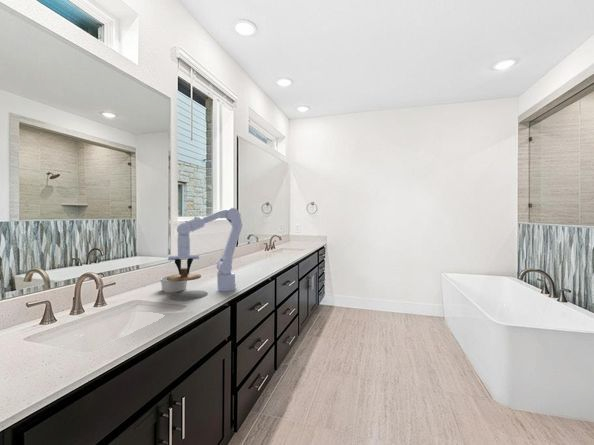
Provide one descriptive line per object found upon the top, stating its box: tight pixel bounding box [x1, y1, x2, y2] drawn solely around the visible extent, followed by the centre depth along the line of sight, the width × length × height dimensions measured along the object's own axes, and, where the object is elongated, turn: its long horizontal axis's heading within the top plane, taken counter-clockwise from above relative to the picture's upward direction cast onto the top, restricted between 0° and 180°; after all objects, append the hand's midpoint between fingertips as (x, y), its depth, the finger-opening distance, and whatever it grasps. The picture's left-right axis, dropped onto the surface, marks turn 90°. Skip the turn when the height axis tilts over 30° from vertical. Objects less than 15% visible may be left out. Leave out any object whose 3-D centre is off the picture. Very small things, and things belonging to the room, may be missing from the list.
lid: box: [166, 267, 202, 281], centre depth 143 cm, size 16×16×5 cm
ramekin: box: [160, 275, 188, 293], centre depth 152 cm, size 13×13×7 cm
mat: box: [168, 290, 209, 302], centre depth 140 cm, size 18×18×1 cm
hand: (184, 274), depth 143 cm, fingers closed on lid, 3 cm apart
